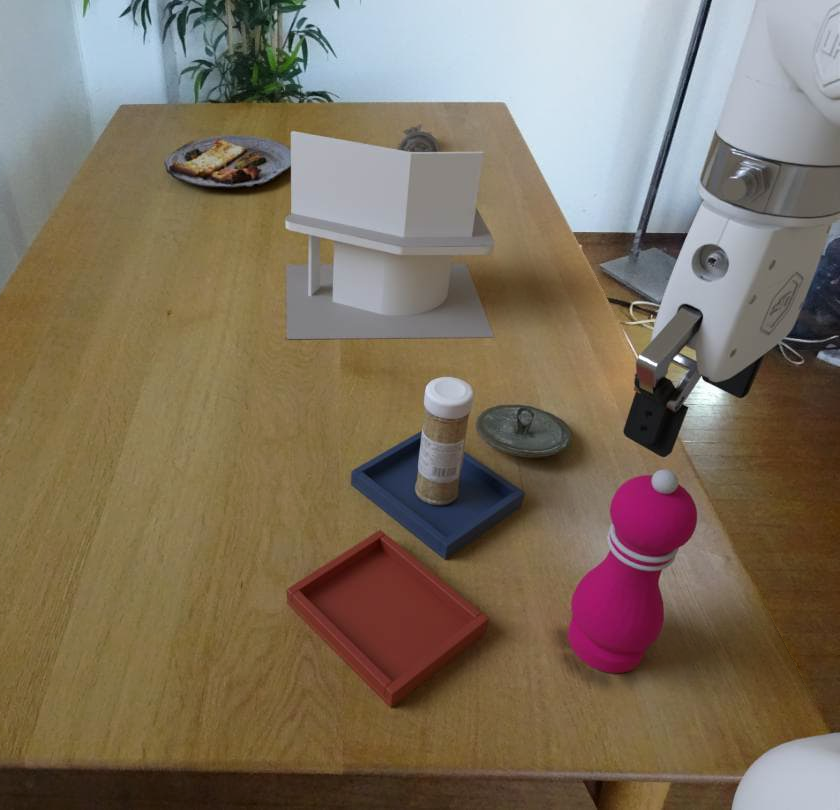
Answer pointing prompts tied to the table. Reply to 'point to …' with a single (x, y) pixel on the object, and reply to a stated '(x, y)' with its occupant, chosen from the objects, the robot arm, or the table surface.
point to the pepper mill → (631, 573)
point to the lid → (523, 431)
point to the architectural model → (384, 242)
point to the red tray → (386, 615)
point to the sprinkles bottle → (443, 439)
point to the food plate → (229, 161)
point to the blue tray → (437, 524)
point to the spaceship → (418, 141)
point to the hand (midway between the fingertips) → (686, 415)
